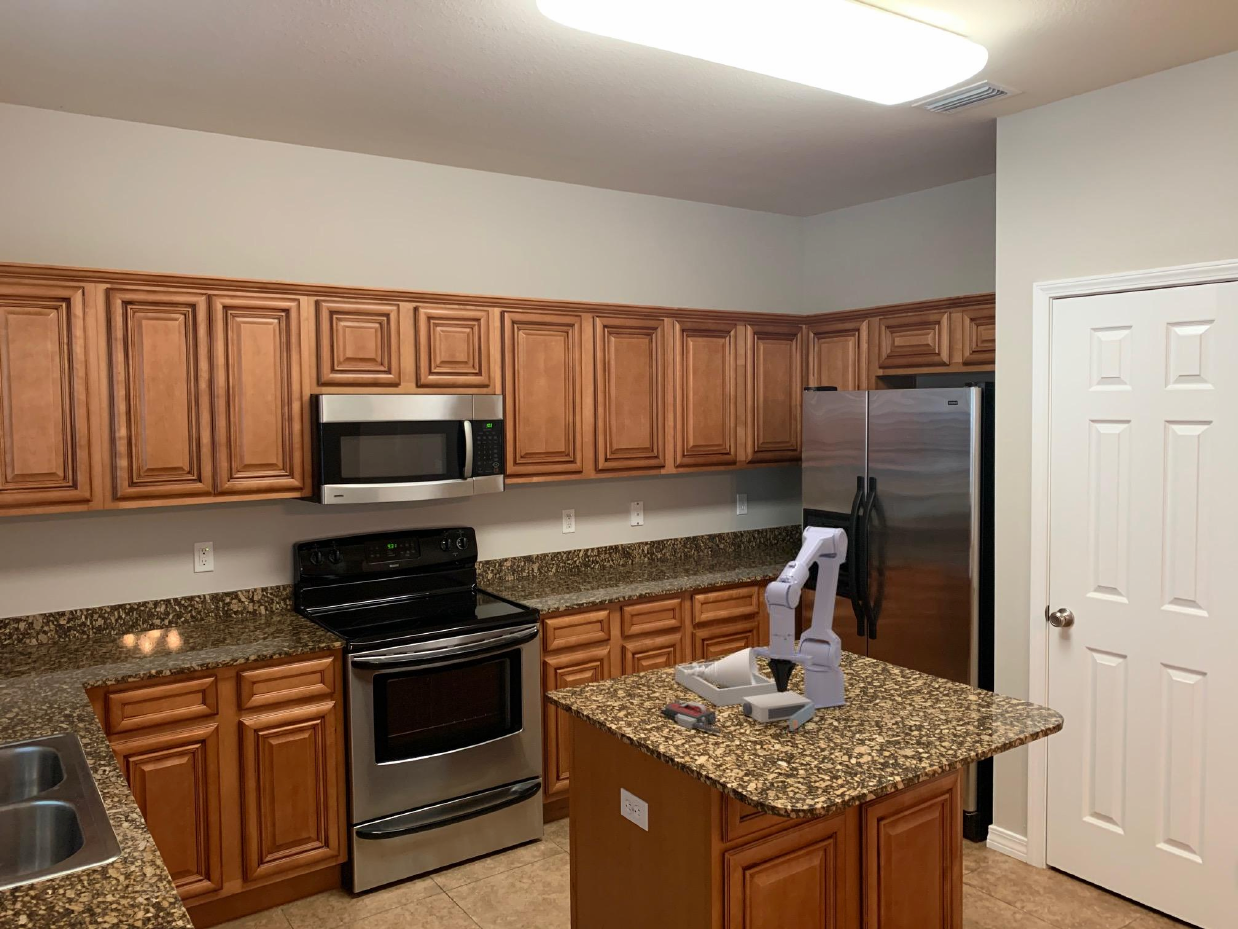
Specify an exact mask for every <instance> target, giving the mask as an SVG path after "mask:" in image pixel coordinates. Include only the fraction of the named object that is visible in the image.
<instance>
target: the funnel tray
mask: <svg viewBox="0 0 1238 929" xmlns="http://www.w3.org/2000/svg"><path fill="white" fill-rule="evenodd" d="M716 661H717V660H716ZM716 661H712V662H711V661H709V662H702V663H701V662H700V663H697V664H698V666H699V667H698V668H701V666H704V667H705V669H706V668H708V667H709V666H711V665H712V664H714V663H715V662H716ZM718 661H719V660H718ZM718 661H717V662H718ZM692 665H693V663H692V664H691V663H690V664H683V665H676V666H675V667H674V668H675V672H674V674H675V676H674V678H675V679H674V680H675V682H677V683H678V684H680V685H681V686H683V687H685V688H686V689H688V690H690V691H691V692H694V693H695V694H697V695H698V696H700V697H702V698H703V699H705V700H706V701H708V702H709V703H711V704H713V705H714V706H717V707H724V706H731V705H733V706H734V705H739V704H740V705H742V698H743V697H750V696H758V695H765V694H773V693H778V691H777V687H776V683H775V680H772V679H770V678H768V677H767V676H764V675H762V674H760V673H759V672H758V673H752V674H753V678H754V680H755V682H756V685H748V686H740V687H732V688H728V687H725V688H718V687H716V686H715V685H714V684H712V683H711V682H710V683H709V682H708V681H707V680H706V681H704V680H703V679H701V678H699V677H697V676H696V675H693V674H690V675H689V674H688V675H685V673H684V671H687V669H688V670H689V669H690V670H691V669H692V670H693V669H694V668H693V666H692Z"/></svg>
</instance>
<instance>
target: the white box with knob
mask: <svg viewBox="0 0 1238 929" xmlns="http://www.w3.org/2000/svg"><path fill="white" fill-rule="evenodd" d="M811 702H812V701H811V700H809V699H807V698H805V697H804V695H803V696H802V695H801V694H799V693H796V692H795V691H792V690H789V691H788V690H787V691H785V692H783V693H781V692H777V693H773V694H765V695H758V696H750V697H743V698H742V703H741V711H742V713H743V714H744V716H749V717H751V719H753V720H756V721H757V722H759V723H763V724H764V723H768V722H776V721H782V720H789V717H791V716H792V715H794V714H795V713H797V712H798V711H800V710H801V709H803V708H804V707H806V706H807V705H808V704H810V703H811Z"/></svg>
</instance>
